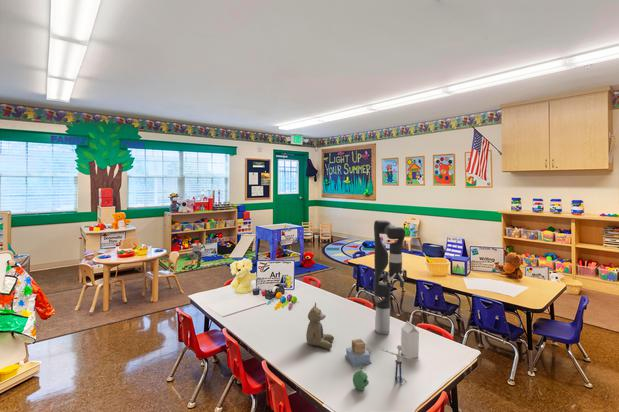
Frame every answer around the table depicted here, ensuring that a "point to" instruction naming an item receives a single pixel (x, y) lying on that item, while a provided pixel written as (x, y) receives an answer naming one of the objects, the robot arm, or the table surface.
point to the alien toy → (360, 379)
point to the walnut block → (358, 346)
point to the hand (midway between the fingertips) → (395, 287)
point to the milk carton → (409, 341)
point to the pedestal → (357, 357)
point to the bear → (317, 330)
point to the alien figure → (399, 364)
